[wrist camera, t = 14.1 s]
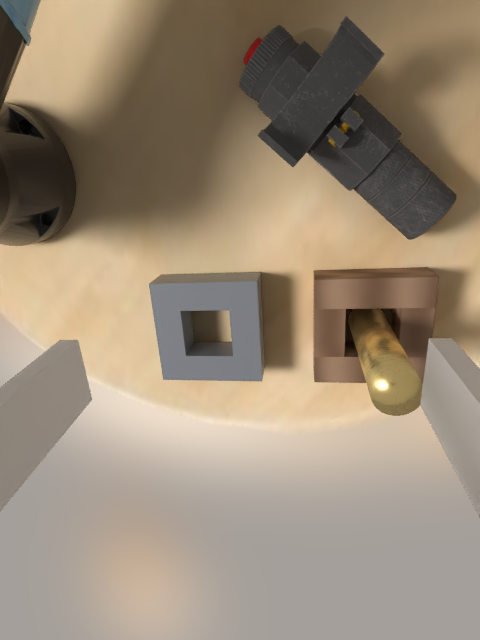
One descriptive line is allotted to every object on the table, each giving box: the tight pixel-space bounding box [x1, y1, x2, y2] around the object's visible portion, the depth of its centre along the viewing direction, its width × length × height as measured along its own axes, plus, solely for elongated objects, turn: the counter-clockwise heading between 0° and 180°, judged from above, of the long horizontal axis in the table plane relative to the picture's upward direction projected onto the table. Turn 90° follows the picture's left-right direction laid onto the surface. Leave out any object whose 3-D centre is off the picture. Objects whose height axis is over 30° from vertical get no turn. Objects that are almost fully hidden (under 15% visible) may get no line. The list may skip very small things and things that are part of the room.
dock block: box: [314, 267, 439, 384], centre depth 44 cm, size 12×12×4 cm
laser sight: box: [239, 16, 456, 239], centre depth 35 cm, size 10×22×10 cm, turn 51°
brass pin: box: [349, 308, 423, 416], centre depth 38 cm, size 4×4×16 cm
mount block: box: [149, 272, 265, 381], centre depth 46 cm, size 12×12×4 cm
